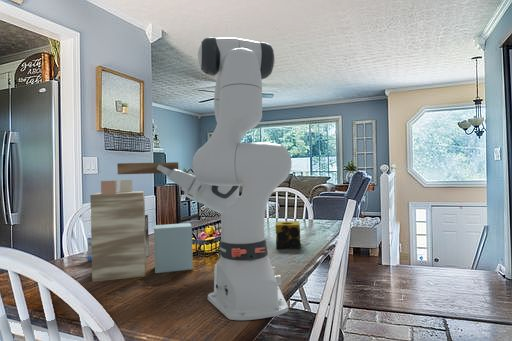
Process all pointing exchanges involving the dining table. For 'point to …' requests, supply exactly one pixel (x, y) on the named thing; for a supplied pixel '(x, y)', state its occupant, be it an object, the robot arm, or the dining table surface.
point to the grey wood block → (118, 235)
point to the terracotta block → (108, 187)
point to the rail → (144, 167)
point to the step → (173, 247)
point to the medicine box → (89, 249)
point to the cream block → (124, 185)
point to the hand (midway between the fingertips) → (157, 166)
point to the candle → (288, 235)
